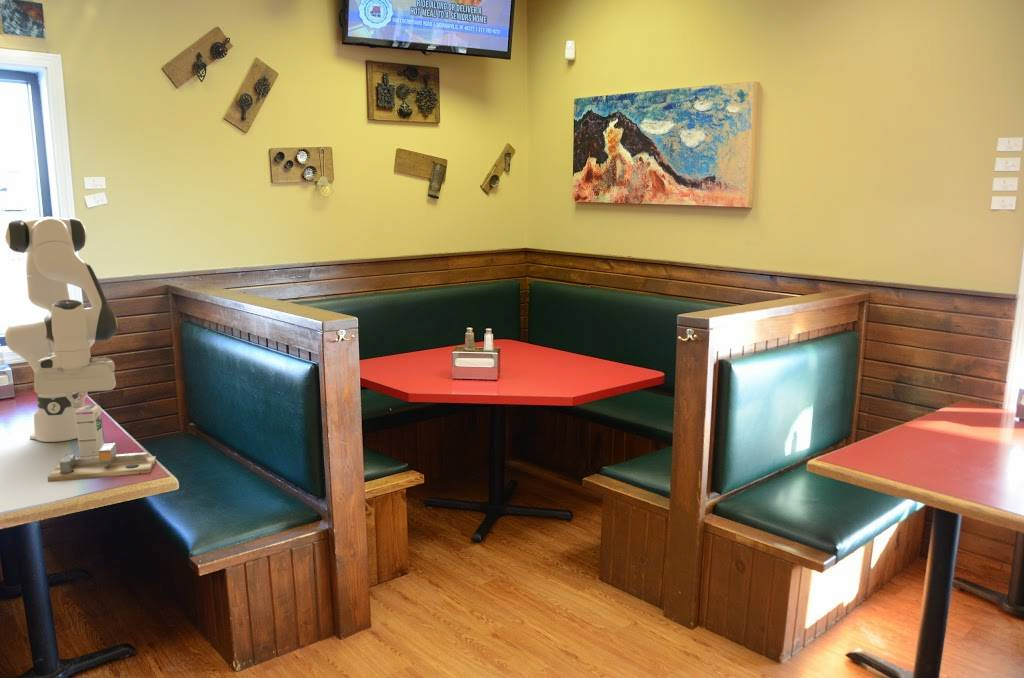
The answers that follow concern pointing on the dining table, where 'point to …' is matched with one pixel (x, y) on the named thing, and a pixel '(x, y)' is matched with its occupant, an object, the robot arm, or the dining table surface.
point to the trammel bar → (97, 460)
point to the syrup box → (89, 430)
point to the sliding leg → (107, 453)
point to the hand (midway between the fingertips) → (78, 407)
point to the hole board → (104, 470)
